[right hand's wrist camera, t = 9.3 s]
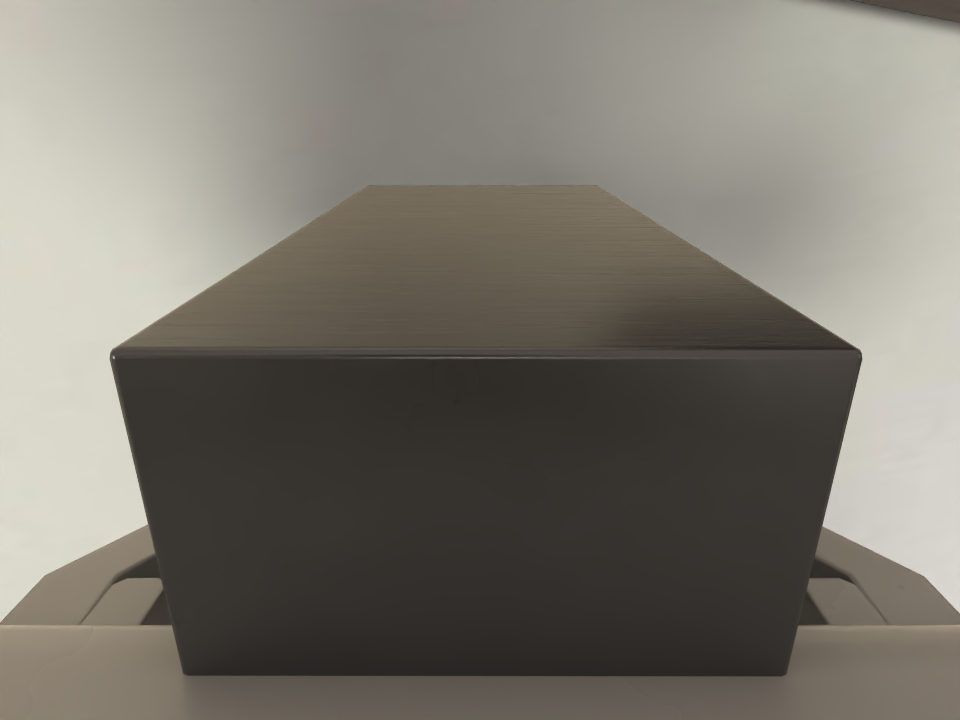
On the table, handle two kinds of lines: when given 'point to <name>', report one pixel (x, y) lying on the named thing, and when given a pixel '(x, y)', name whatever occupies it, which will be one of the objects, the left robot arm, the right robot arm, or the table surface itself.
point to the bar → (485, 447)
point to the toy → (923, 7)
